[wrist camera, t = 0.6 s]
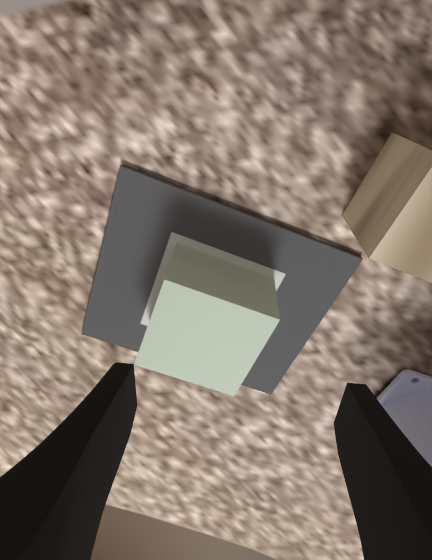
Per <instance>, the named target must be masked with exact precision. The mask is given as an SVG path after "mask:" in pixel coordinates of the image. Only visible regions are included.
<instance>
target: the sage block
mask: <svg viewBox="0 0 432 560" xmlns="http://www.w3.org/2000/svg"><path fill="white" fill-rule="evenodd" d="M279 321H280V315H279V308H278V301H277V294H276V287H275V280H274V278H273V277H270V276H267V275H264V274H262V273H259V272H256V271H253V270H251V269H248V268H245V267H242V266H240V265H237V264H234V263H232V262H229V261H226V260H223V259H221V258H218V257H215V256H212V255H210V254H207V253H204V252H201V251H199V250H196V249H193V248H190V247H188V246H185V245H182V244H179V243H177V245H176V248H175V251H174V254H173V256H172V259H171V262H170V265H169V268H168V270H167V273H166V276H165V279H164V282H163V284H162V287H161V290H160V293H159V296H158V298H157V301H156V304H155V307H154V310H153V312H152V315H151V318H150V321H149V324H148V327H147V329H146V332H145V335H144V338H143V341H142V343H141V346H140V349H139V352H138V355H137V358H136V360H135V363H134V365H137V366H140V367H143V368H146V369H149V370H153V371H156V372H159V373H162V374H165V375H169V376H172V377H175V378H178V379H181V380H185V381H188V382H191V383H194V384H197V385H201V386H204V387H207V388H210V389H213V390H217V391H220V392H223V393H226V394H229V395H232V396H235V394H236V392H237V391H238V389H239V387H240V386H241V384H242V382H243V381H244V379H245V377H246V376H247V374H248V372H249V371H250V369H251V367H252V366H253V364H254V362H255V361H256V359H257V357H258V356H259V354H260V352H261V351H262V349H263V347H264V346H265V344H266V342H267V341H268V339H269V337H270V336H271V334H272V333H273V331H274V329H275V328H276V326H277V324H278V323H279Z"/></svg>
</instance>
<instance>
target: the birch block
mask: <svg viewBox="0 0 432 560" xmlns="http://www.w3.org/2000/svg"><path fill="white" fill-rule="evenodd" d="M342 216H343V218H344V220H345V221H346V223H347V224H348V226H349V228H350V229H351V231H352V232H353V234H354V236H355V237H356V239H357V240H358V242H359V244H360V245H361V247H362V248H363V250H364V252H365V253H366V255H367V256H368V258H369V259H371V260H374V261H377V262H379V263H382V264H384V265H387V266H389V267H392V268H395V269H397V270H400V271H402V272H405V273H407V274H410V275H413V276H415V277H418V278H420V279H423V280H426V281H428V282H431V283H432V150H431V149H429V148H426V147H424V146H422V145H420V144H417V143H415V142H413V141H411V140H408V139H406V138H404V137H402V136H399V135H397V134H395V133H393V132H392V133H391V135H390V136H389V138H388V140H387V141H386V143H385V145H384V146H383V148H382V150H381V151H380V153H379V155H378V156H377V158H376V160H375V161H374V163H373V165H372V166H371V168H370V170H369V171H368V173H367V174H366V176H365V178H364V179H363V181H362V183H361V184H360V186H359V188H358V189H357V191H356V193H355V194H354V196H353V198H352V199H351V201H350V203H349V204H348V206H347V208H346V209H345V211H344V213H343V214H342Z"/></svg>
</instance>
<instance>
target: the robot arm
mask: <svg viewBox="0 0 432 560" xmlns="http://www.w3.org/2000/svg"><path fill="white" fill-rule="evenodd" d="M413 378H415V379H413ZM136 408H137V398H136V386H135V375H134V364H127V363H115V364H113V365H112V367H111V368H110V369H109V370H108V372H107V373H106V374H105V375H104V376H103V378H102V379H101V380H100V381H99V382H98V384H97V385H96V386H95V387H94V388H93V390H92V391H91V392H90V393H89V394H88V395H87V396H86V397H85V399H84V400H83V401H82V402H81V403H80V404H79V405H78V406H77V407H76V408H75V410H74V411H73V412H72V413H71V414H70V415H69V416H68V417H67V418H66V419H65V420H64V421H63V422H62V423H61V424H60V425H59V426H58V427H57V428H56V429H55V430H54V431H53V432H52V433H51V434H50V435H49V436H48V437H47V438H46V439H45V440H44V441H42V442H41V443H40V444H39V445H38V446H37V447H36V448H35V449H34V450H33V451H31V452H30V453H29V454H28V455H27V456H26V457H24V458H23V459H22V460H21V461H20V462H19V463H17V464H16V465H15V466H14V467H12V468H11V469H10V470H9V471H7V472H6V473H5V474H4V475H3V476H1V477H0V560H90V558H91V554H92V550H93V546H94V543H95V539H96V535H97V531H98V528H99V524H100V520H101V516H102V513H103V510H104V507H105V504H106V501H107V498H108V495H109V492H110V489H111V487H112V484H113V481H114V478H115V476H116V473H117V470H118V467H119V464H120V462H121V459H122V456H123V453H124V451H125V448H126V445H127V442H128V439H129V436H130V433H131V429H132V425H133V421H134V417H135V412H136ZM334 428H335V436H336V443H337V449H338V455H339V459H340V463H341V467H342V470H343V474H344V478H345V482H346V485H347V489H348V493H349V497H350V500H351V504H352V508H353V511H354V515H355V519H356V523H357V526H358V531H359V535H360V540H361V544H362V550H363V556H364V560H432V377H430V376H427V375H425V374H422V373H419V372H416V371H413V370H409V369H407V370H403V371H402V372H400V373H399V374H398V376H397V377H396V378H395V379H394V380H393V381H392V382H391V383H390V384H389V385H388V386H387V388H386V389H385V390H384V391H383V392H382V393H381V394H380V395H379V396H378V397H377V398H376V397H375V396H374V394H373V393H372V392H371V390H370V389H369V388H368V387H367V385H366V384H354V383H347V385H346V388H345V391H344V394H343V397H342V400H341V403H340V406H339V409H338V412H337V415H336V418H335V421H334Z"/></svg>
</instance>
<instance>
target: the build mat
mask: <svg viewBox="0 0 432 560" xmlns="http://www.w3.org/2000/svg"><path fill="white" fill-rule="evenodd" d="M177 243H179V244H182V245H185V246H188V247H190V248H193V249H196V250H199V251H201V252H204V253H207V254H210V255H212V256H215V257H218V258H221V259H223V260H226V261H229V262H232V263H234V264H237V265H240V266H242V267H245V268H248V269H251V270H253V271H256V272H259V273H262V274H264V275H267V276H270V277H273V278H274V280H275V287H276V294H277V301H278V308H279V315H280V321H279V323H278V324H277V326H276V328H275V329H274V331H273V333H272V334H271V336H270V337H269V339H268V341H267V342H266V344H265V346H264V347H263V349H262V351H261V352H260V354H259V356H258V357H257V359H256V361H255V362H254V364H253V366H252V367H251V369H250V371H249V372H248V374H247V376H246V377H245V379H244V381H243V382H242V384H241V385H243V386H247V387H250V388H253V389H256V390H259V391H262V392H265V393H269V394H271V393H272V392H273V390H274V389H275V388H276V386H277V385H278V383H279V382H280V380H281V379H282V377H283V376H284V374H285V373H286V371H287V370H288V368H289V367H290V365H291V364H292V363H293V361H294V360H295V358H296V357H297V355H298V354H299V352H300V351H301V349H302V348H303V346H304V345H305V343H306V342H307V340H308V339H309V338H310V336H311V335H312V333H313V332H314V330H315V329H316V327H317V326H318V324H319V323H320V321H321V320H322V318H323V317H324V315H325V314H326V313H327V311H328V310H329V308H330V307H331V305H332V304H333V302H334V301H335V299H336V298H337V296H338V295H339V293H340V292H341V290H342V289H343V288H344V286H345V285H346V283H347V282H348V280H349V279H350V277H351V276H352V274H353V273H354V271H355V270H356V268H357V267H358V265H359V264H360V263H361V261H362V260H363V259H362V257H360V256H358V255H355V254H352V253H350V252H347V251H345V250H342V249H339V248H337V247H334V246H332V245H329V244H327V243H324V242H321V241H319V240H316V239H314V238H311V237H308V236H306V235H303V234H301V233H298V232H295V231H293V230H290V229H288V228H285V227H283V226H280V225H277V224H275V223H272V222H270V221H267V220H264V219H262V218H259V217H257V216H254V215H251V214H249V213H246V212H244V211H241V210H239V209H236V208H233V207H231V206H228V205H226V204H223V203H220V202H218V201H215V200H213V199H210V198H207V197H205V196H202V195H200V194H197V193H195V192H192V191H189V190H187V189H184V188H182V187H179V186H176V185H174V184H171V183H169V182H166V181H163V180H161V179H158V178H156V177H153V176H151V175H148V174H145V173H143V172H140V171H138V170H135V169H132V168H130V167H127V166H125V165H121V166H120V171H119V175H118V179H117V183H116V188H115V192H114V196H113V201H112V205H111V209H110V213H109V218H108V222H107V226H106V231H105V235H104V239H103V243H102V248H101V252H100V256H99V261H98V265H97V269H96V273H95V278H94V282H93V286H92V291H91V295H90V299H89V304H88V308H87V312H86V316H85V321H84V325H83V329H82V334H83V335H86V336H89V337H93V338H96V339H99V340H102V341H105V342H108V343H111V344H115V345H118V346H121V347H124V348H127V349H130V350H133V351H137V352H139V349H140V346H141V343H142V341H143V338H144V335H145V332H146V329H147V327H148V324H149V321H150V318H151V315H152V312H153V310H154V307H155V304H156V301H157V298H158V296H159V293H160V290H161V287H162V284H163V282H164V279H165V276H166V273H167V270H168V268H169V265H170V262H171V259H172V256H173V254H174V251H175V248H176V245H177Z"/></svg>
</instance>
